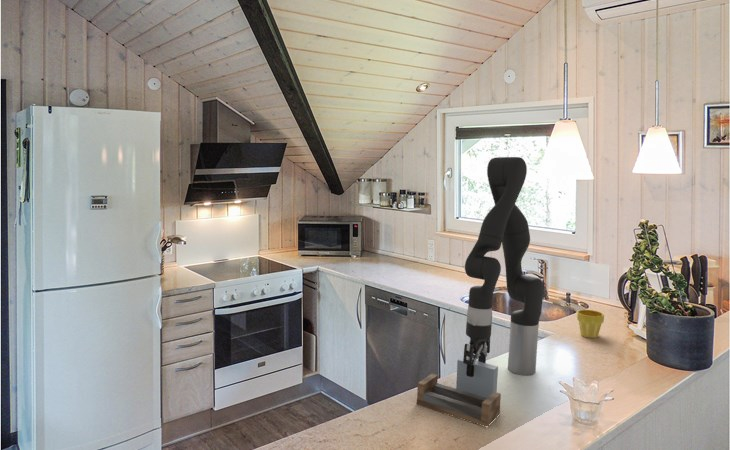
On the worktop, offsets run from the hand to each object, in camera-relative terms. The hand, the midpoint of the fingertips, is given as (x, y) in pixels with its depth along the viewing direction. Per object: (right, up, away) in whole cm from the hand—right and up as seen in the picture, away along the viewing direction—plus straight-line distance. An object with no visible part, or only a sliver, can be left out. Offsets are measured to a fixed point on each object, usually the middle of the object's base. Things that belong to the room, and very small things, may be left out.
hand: (475, 371), depth 160 cm
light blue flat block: (0, -7, +1) cm, 7 cm away
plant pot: (+60, -1, +58) cm, 83 cm away
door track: (-7, -8, -9) cm, 14 cm away
